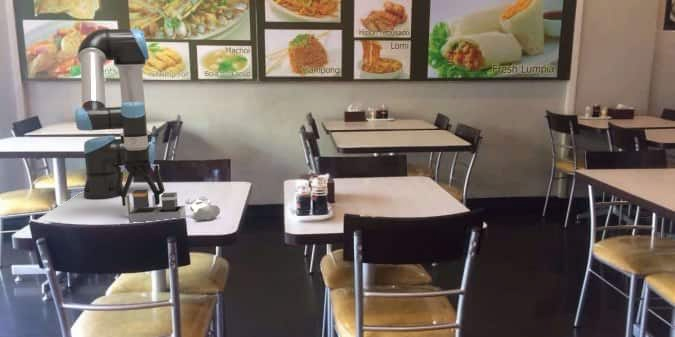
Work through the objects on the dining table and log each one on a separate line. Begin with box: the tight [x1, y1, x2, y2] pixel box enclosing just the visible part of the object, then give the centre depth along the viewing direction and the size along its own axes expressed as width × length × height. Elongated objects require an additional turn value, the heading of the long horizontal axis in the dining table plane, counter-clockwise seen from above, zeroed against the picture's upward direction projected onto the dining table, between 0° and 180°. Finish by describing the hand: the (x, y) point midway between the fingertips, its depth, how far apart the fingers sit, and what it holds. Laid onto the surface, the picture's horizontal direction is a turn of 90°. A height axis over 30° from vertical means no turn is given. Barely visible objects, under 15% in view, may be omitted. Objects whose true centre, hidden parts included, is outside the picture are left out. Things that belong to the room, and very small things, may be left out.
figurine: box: [184, 196, 221, 222], centre depth 192 cm, size 9×6×12 cm
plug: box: [132, 188, 150, 209], centre depth 194 cm, size 4×4×9 cm
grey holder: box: [128, 191, 187, 223], centre depth 183 cm, size 8×16×10 cm, turn 95°
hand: (142, 214), depth 194 cm, fingers open, 8 cm apart
